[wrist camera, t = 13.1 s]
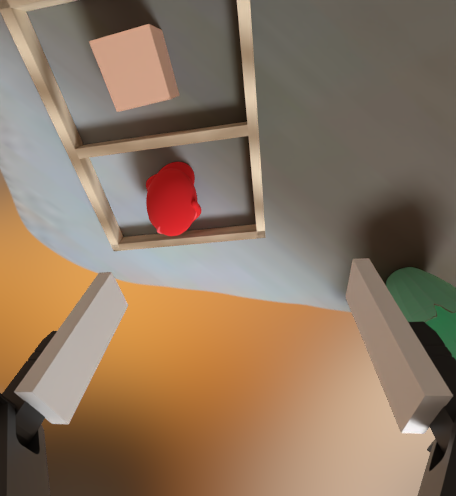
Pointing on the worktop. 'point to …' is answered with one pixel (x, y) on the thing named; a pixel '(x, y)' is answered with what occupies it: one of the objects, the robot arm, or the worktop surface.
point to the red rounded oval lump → (172, 199)
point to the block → (136, 67)
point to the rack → (14, 13)
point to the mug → (426, 301)
